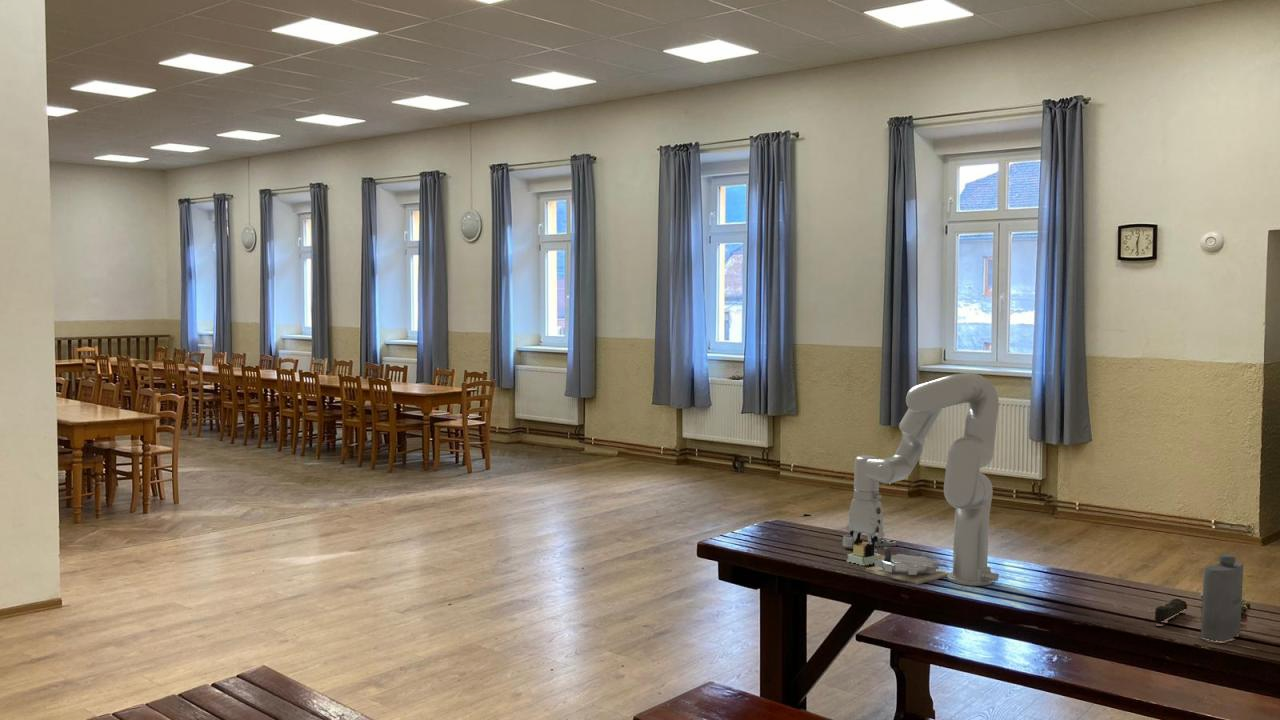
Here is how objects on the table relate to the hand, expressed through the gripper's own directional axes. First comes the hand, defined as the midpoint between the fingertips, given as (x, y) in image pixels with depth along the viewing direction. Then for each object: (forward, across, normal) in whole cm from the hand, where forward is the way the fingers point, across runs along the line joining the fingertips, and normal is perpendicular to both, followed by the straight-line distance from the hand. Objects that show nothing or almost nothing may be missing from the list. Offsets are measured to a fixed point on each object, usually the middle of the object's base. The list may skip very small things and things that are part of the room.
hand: (864, 554), depth 327 cm
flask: (+3, -101, -7) cm, 101 cm away
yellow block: (+1, 0, 0) cm, 1 cm away
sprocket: (0, -17, +3) cm, 17 cm away
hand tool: (+3, -86, -12) cm, 87 cm away
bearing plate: (+2, -17, +2) cm, 17 cm away
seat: (+2, 0, 0) cm, 2 cm away
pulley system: (+3, +12, -17) cm, 21 cm away
